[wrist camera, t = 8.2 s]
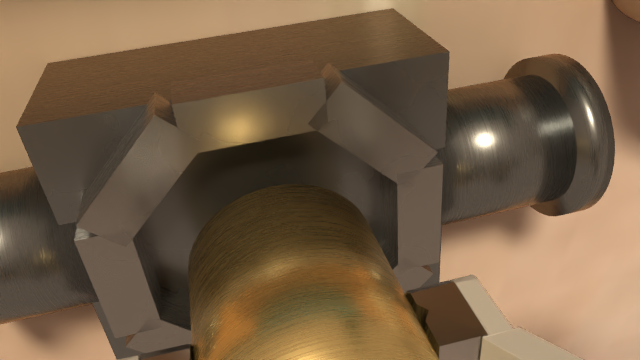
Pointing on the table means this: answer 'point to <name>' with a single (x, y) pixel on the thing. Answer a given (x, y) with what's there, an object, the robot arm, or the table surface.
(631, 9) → the cream pebble-shaped knob
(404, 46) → the valve body
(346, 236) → the brass coupling
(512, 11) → the table surface
